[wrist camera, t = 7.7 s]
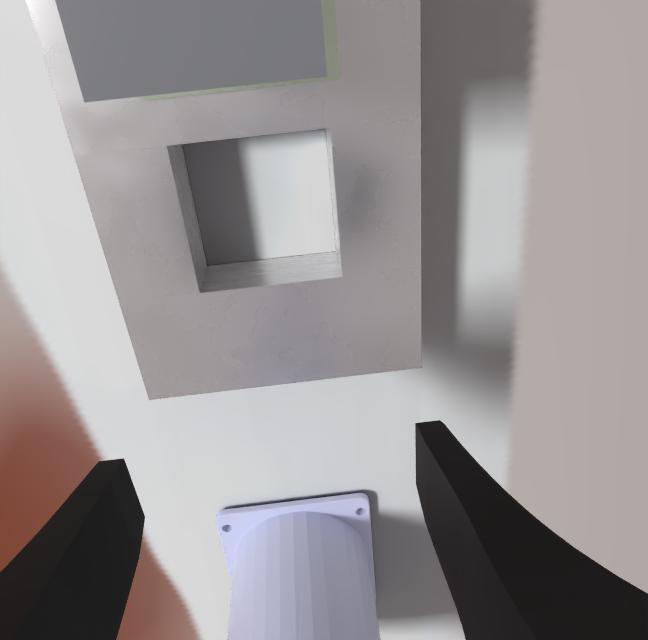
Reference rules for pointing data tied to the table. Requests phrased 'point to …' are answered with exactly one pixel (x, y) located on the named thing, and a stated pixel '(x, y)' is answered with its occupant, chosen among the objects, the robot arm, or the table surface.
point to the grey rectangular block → (190, 44)
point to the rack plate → (269, 274)
